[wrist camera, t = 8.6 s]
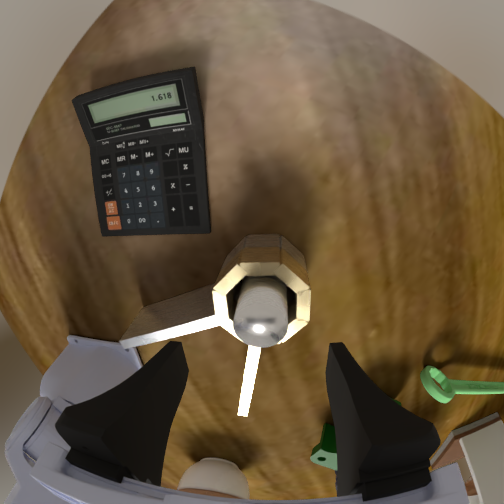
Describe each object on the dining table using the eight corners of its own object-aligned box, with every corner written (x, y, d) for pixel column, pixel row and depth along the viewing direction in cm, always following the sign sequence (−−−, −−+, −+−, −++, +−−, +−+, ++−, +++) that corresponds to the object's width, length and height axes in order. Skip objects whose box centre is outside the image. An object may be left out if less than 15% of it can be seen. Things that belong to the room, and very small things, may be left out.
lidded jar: (191, 443, 33) (177, 498, 24) (263, 461, 33) (258, 515, 25) (180, 466, 37) (168, 510, 28) (240, 481, 37) (234, 525, 29)
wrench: (520, 371, 25) (535, 392, 20) (513, 380, 26) (527, 402, 21) (418, 359, 24) (435, 395, 20) (408, 372, 25) (423, 408, 20)
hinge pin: (248, 289, 22) (236, 348, 16) (243, 254, 21) (229, 304, 15) (286, 287, 22) (288, 346, 16) (284, 251, 21) (286, 302, 15)
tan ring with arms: (162, 369, 27) (146, 405, 22) (127, 238, 22) (94, 263, 17) (298, 376, 26) (300, 416, 21) (304, 233, 20) (311, 261, 16)
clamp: (353, 373, 30) (371, 400, 22) (388, 389, 30) (412, 416, 21) (305, 441, 30) (307, 480, 22) (340, 454, 29) (349, 492, 21)
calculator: (107, 233, 22) (88, 245, 19) (93, 97, 18) (71, 95, 15) (212, 229, 21) (202, 243, 19) (203, 74, 17) (191, 64, 14)
